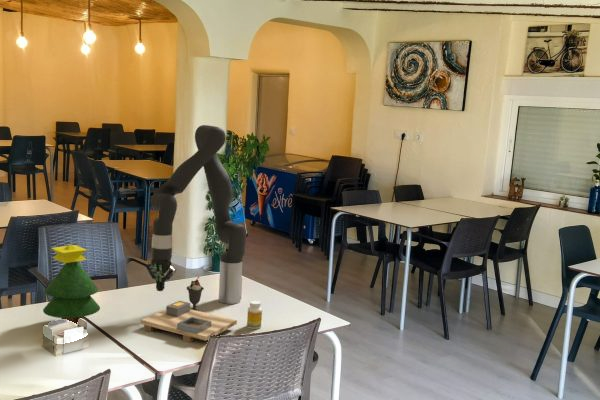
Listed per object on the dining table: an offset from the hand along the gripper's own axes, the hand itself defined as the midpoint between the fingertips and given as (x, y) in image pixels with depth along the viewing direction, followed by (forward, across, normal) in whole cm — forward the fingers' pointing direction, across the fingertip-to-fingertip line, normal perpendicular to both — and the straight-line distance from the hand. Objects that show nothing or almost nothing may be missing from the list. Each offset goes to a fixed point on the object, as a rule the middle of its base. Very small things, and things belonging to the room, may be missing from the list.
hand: (160, 290), depth 242 cm
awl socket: (+7, -22, +9) cm, 25 cm away
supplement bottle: (+10, -35, -12) cm, 38 cm away
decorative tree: (+11, +20, +25) cm, 33 cm away
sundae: (+11, -8, -12) cm, 18 cm away
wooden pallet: (+11, -16, +4) cm, 20 cm away
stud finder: (+7, -8, 0) cm, 11 cm away
